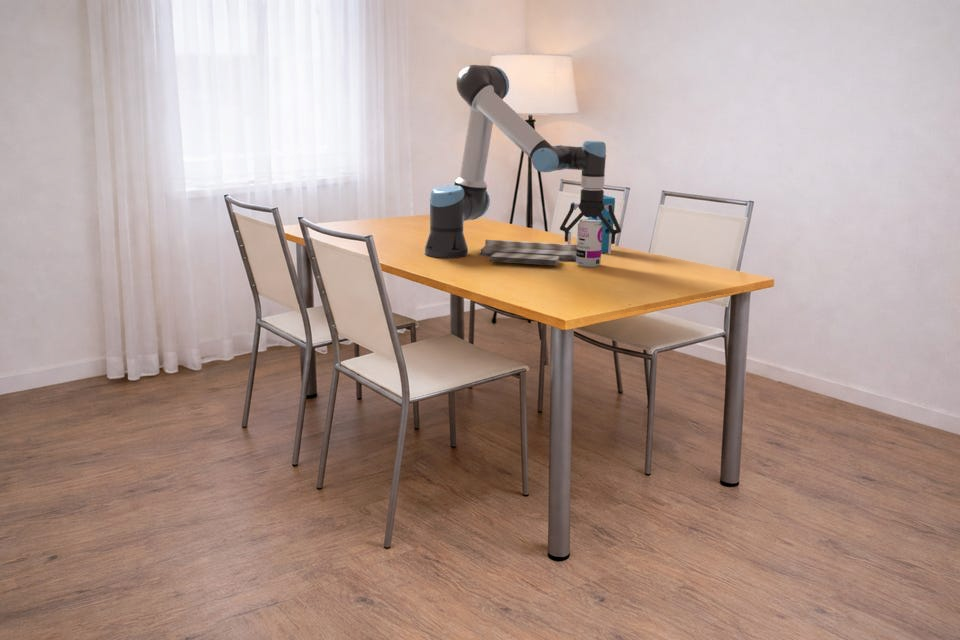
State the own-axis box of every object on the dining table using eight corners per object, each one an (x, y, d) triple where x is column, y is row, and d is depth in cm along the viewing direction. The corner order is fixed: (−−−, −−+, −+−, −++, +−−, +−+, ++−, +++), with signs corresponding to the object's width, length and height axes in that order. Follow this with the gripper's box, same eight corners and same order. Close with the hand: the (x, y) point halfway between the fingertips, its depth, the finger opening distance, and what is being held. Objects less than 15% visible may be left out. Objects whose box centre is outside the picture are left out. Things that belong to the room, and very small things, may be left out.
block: (612, 253, 313) (616, 198, 308) (600, 254, 311) (603, 198, 306) (597, 247, 324) (600, 194, 318) (585, 248, 322) (588, 194, 317)
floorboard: (479, 256, 302) (480, 244, 301) (485, 250, 312) (486, 239, 311) (583, 262, 296) (583, 250, 294) (585, 256, 306) (586, 245, 305)
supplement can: (602, 263, 294) (605, 220, 290) (597, 268, 286) (600, 223, 282) (578, 261, 296) (581, 218, 292) (573, 266, 289) (575, 221, 285)
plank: (489, 261, 287) (489, 256, 287) (495, 257, 299) (495, 252, 298) (555, 265, 283) (555, 260, 283) (559, 260, 295) (559, 256, 294)
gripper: (630, 189, 286) (626, 252, 291) (555, 186, 290) (553, 248, 296) (630, 191, 279) (626, 256, 284) (553, 188, 283) (550, 252, 289)
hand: (589, 252), depth 290 cm, fingers open, 13 cm apart
